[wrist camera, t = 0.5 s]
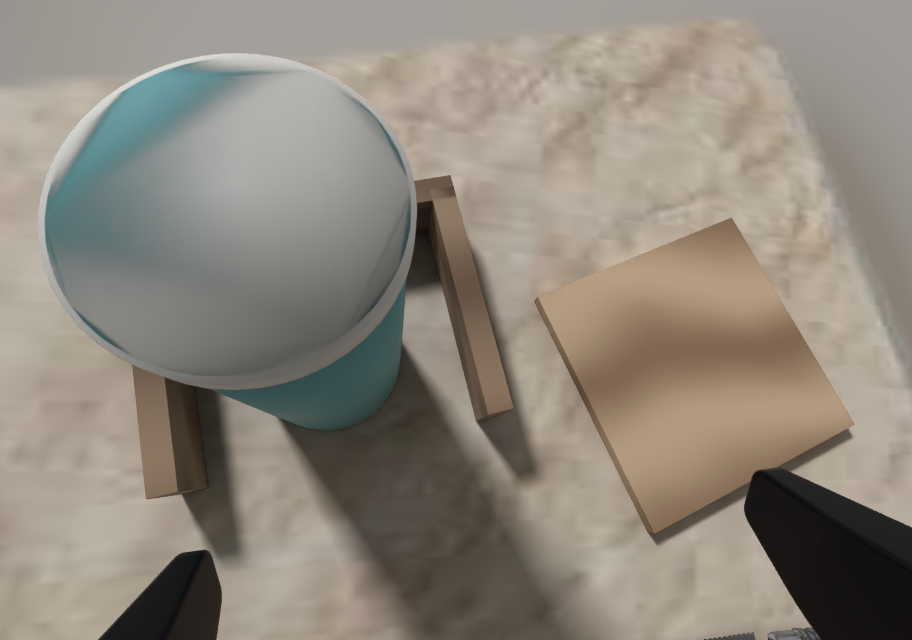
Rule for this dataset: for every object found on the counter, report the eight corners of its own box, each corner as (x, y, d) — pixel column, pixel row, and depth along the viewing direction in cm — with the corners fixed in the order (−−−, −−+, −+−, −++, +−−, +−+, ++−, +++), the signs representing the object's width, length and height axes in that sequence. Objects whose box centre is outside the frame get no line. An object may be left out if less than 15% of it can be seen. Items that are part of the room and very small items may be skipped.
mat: (843, 425, 24) (854, 424, 24) (647, 532, 22) (654, 533, 21) (724, 223, 26) (731, 217, 26) (534, 300, 24) (537, 296, 24)
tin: (425, 397, 22) (472, 298, 9) (283, 458, 21) (95, 448, 8) (370, 270, 24) (342, 19, 10) (234, 321, 22) (-2, 107, 9)
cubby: (498, 415, 23) (513, 408, 20) (180, 494, 20) (146, 499, 17) (443, 208, 25) (450, 175, 22) (153, 259, 23) (118, 229, 20)
